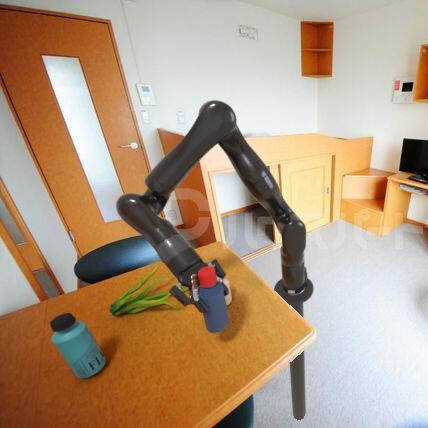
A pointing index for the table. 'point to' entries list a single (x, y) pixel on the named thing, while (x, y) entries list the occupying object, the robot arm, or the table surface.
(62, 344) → the beverage bottle
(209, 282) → the cap
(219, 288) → the water bottle
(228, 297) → the candle
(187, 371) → the table surface
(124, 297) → the decorative plant
